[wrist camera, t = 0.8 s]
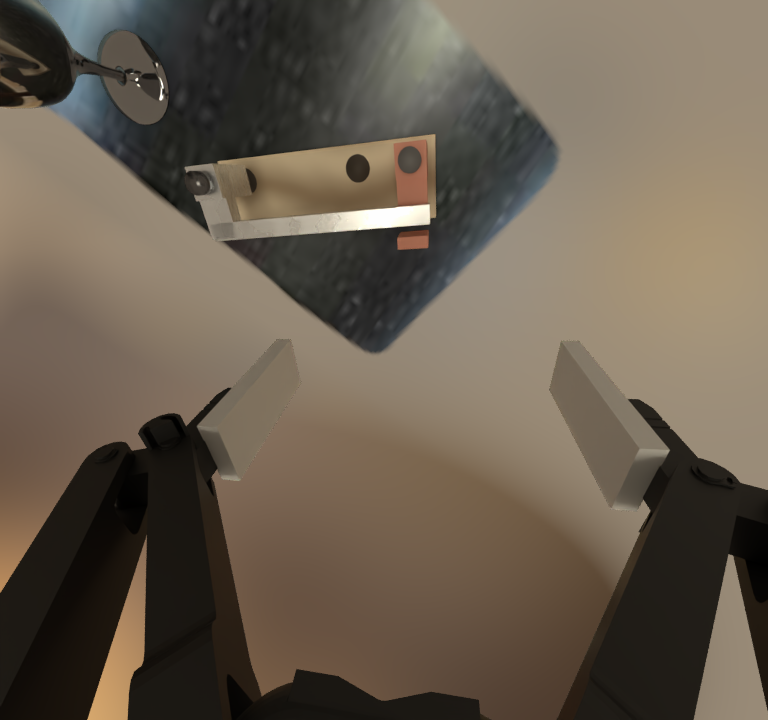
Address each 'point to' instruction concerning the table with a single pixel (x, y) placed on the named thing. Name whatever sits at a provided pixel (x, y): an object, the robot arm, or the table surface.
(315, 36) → the table surface
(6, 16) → the wine glass
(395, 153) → the slide leg
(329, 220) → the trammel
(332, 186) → the bolt plate
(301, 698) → the robot arm
